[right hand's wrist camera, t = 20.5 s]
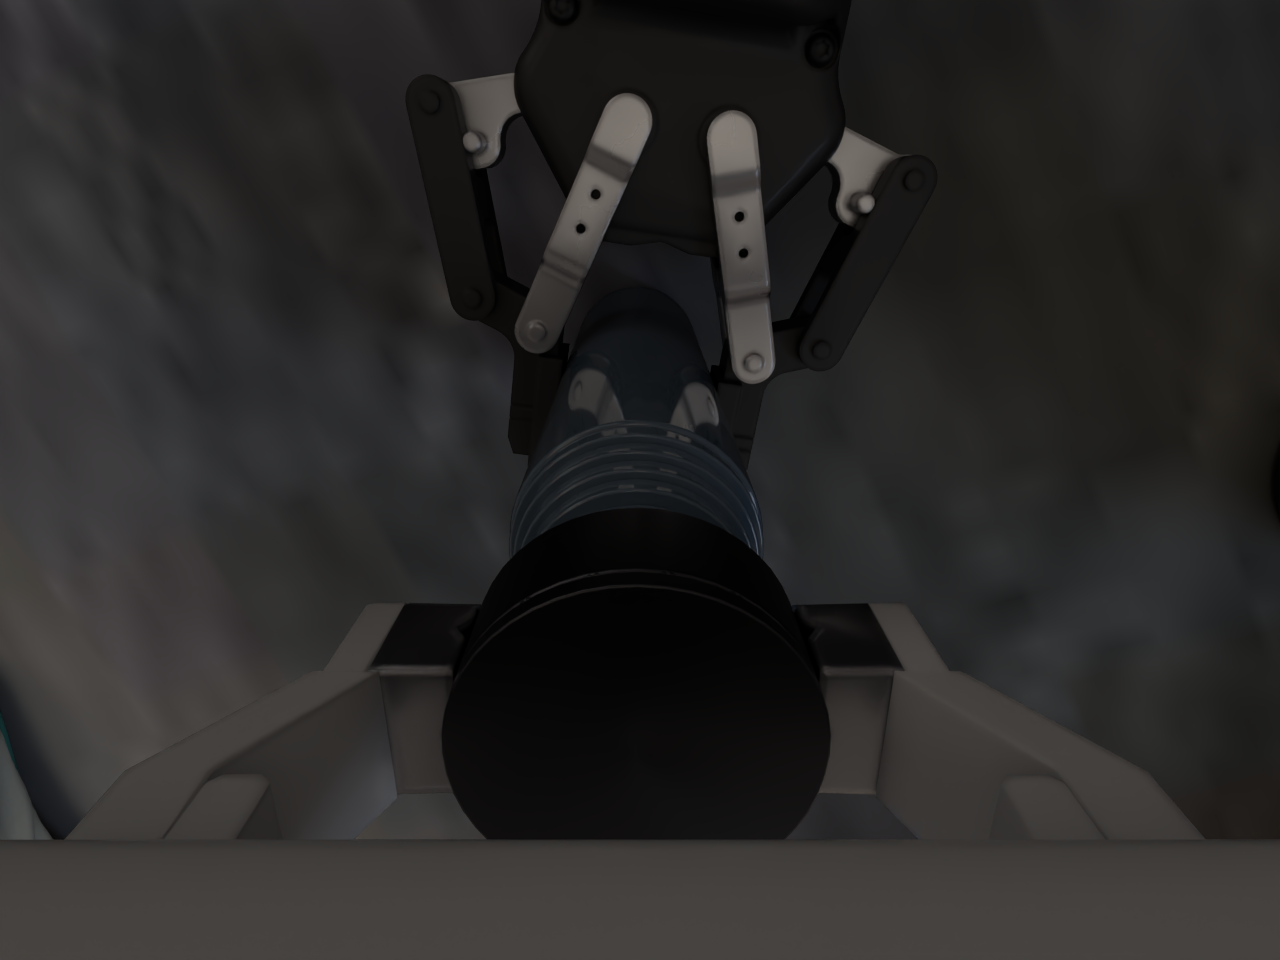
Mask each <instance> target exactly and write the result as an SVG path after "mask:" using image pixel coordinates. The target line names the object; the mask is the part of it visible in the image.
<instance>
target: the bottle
mask: <svg viewBox="0 0 1280 960" xmlns="http://www.w3.org/2000/svg"><path fill="white" fill-rule="evenodd" d="M621 508H651V509H662V510H668V511H673V512H678V513H683V514H686V515H689V516H692V517H695V518H698V519H702V520H704V521H707V522H709V523H711V524H713V525H715V526H718V527H720V528H722V529H724V530H725V531H727V532H729V533H730V534H732V535H733V536H735V537H737V538H738V539H740V540H741V541H743V542H744V543H745V544H746V545H747V546H749V547H750V548H751V549H752V550H753V551H755V552H756V553H757V554H758V555H759V556H760V557H761V558H762V560H763V524H762V518H761V511H760V508H759V504H758V501H757V498H756V495H755V492H754V490H753V487H752V484H751V482H750V479H749V476H748V474H747V471H746V468H745V466H744V463H743V460H742V458H741V455H740V452H739V450H738V447H737V444H736V442H735V439H734V436H733V434H732V431H731V428H730V426H729V423H728V420H727V418H726V415H725V412H724V410H723V407H722V405H721V402H720V399H719V397H718V394H717V391H716V389H715V386H714V383H713V381H712V378H711V375H710V373H709V370H708V367H707V365H706V362H705V359H704V357H703V354H702V351H701V349H700V346H699V343H698V341H697V338H696V335H695V333H694V330H693V327H692V325H691V323H690V320H689V318H688V316H687V315H686V313H685V312H684V310H683V309H682V308H681V307H680V306H679V305H678V304H677V303H676V302H675V301H674V300H673V299H671V298H670V297H668V296H667V295H665V294H663V293H661V292H659V291H656V290H653V289H649V288H644V287H629V288H624V289H620V290H617V291H614V292H612V293H610V294H608V295H606V296H605V297H603V298H602V299H600V300H599V301H598V302H597V303H596V304H595V305H594V306H593V307H592V308H591V309H590V310H589V312H588V314H587V315H586V317H585V319H584V321H583V323H582V325H581V328H580V330H579V333H578V336H577V338H576V341H575V344H574V346H573V349H572V351H571V354H570V357H569V359H568V362H567V365H566V367H565V370H564V373H563V375H562V378H561V381H560V383H559V386H558V388H557V391H556V394H555V396H554V399H553V402H552V404H551V407H550V410H549V412H548V415H547V418H546V420H545V423H544V425H543V428H542V431H541V433H540V436H539V439H538V441H537V444H536V447H535V449H534V452H533V454H532V457H531V460H530V462H529V465H528V468H527V470H526V473H525V476H524V478H523V481H522V484H521V486H520V489H519V491H518V494H517V497H516V500H515V503H514V507H513V510H512V516H511V522H510V537H509V555H510V559H511V558H512V557H513V556H514V555H515V554H516V553H517V552H518V551H519V550H520V549H522V548H523V547H524V546H525V545H527V544H528V543H529V542H530V541H532V540H533V539H534V538H536V537H538V536H539V535H541V534H543V533H544V532H546V531H547V530H549V529H551V528H553V527H555V526H557V525H560V524H562V523H564V522H566V521H569V520H571V519H574V518H577V517H581V516H584V515H587V514H590V513H594V512H598V511H599V512H600V511H602V510H611V509H621Z"/></svg>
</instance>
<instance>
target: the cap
mask: <svg viewBox="0 0 1280 960" xmlns="http://www.w3.org/2000/svg"><path fill="white" fill-rule="evenodd" d="M441 742H442V756H443V761H444V766H445V771H446V775H447V778H448V780H449V783H450V786H451V789H452V791H453V794H454V795H455V797H456V799H457V801H458V803H459V805H460V806H461V808H462V810H463V812H464V813H465V814H466V816H467V817H468V818H469V820H470V821H471V822H472V824H473V825H474V826H475V828H476V829H477V830H478V831H479V832H480V833H481V834H482V835H483V836H484V837H485V838H486V839H487V840H784V839H785V838H786V837H787V836H788V835H790V834H791V833H792V832H793V831H794V830H795V828H796V827H797V826H798V825H799V823H800V822H801V821H802V819H803V818H804V817H805V815H806V814H807V813H808V811H809V810H810V808H811V806H812V804H813V803H814V801H815V799H816V797H817V795H818V793H819V791H820V788H821V786H822V783H823V780H824V778H825V775H826V771H827V766H828V761H829V756H830V744H831V730H830V721H829V713H828V710H827V706H826V703H825V699H824V696H823V693H822V690H821V687H820V684H819V681H818V679H817V677H816V673H815V670H814V668H813V665H812V662H811V659H810V657H809V654H808V651H807V648H806V645H805V643H804V640H803V637H802V634H801V632H800V629H799V626H798V623H797V621H796V618H795V615H794V612H793V609H792V607H791V604H790V601H789V599H788V597H787V595H786V593H785V591H784V589H783V587H782V585H781V583H780V582H779V580H778V579H777V577H776V576H775V574H774V573H773V571H772V570H771V568H770V567H769V566H768V565H767V564H766V563H765V562H764V561H763V560H762V558H761V557H760V556H759V555H758V554H757V553H756V552H755V551H753V550H752V549H751V548H750V547H749V546H747V545H746V544H745V543H744V542H743V541H741V540H740V539H738V538H737V537H735V536H733V535H732V534H730V533H729V532H727V531H725V530H724V529H722V528H720V527H718V526H715V525H713V524H711V523H709V522H707V521H704V520H702V519H698V518H695V517H692V516H689V515H686V514H683V513H678V512H673V511H668V510H662V509H651V508H621V509H611V510H602V511H600V512H599V511H598V512H594V513H590V514H587V515H584V516H581V517H577V518H574V519H571V520H569V521H566V522H564V523H562V524H560V525H557V526H555V527H553V528H551V529H549V530H547V531H546V532H544V533H543V534H541V535H539V536H538V537H536V538H534V539H533V540H532V541H530V542H529V543H528V544H527V545H525V546H524V547H523V548H522V549H520V550H519V551H518V552H517V553H516V554H515V555H514V556H513V557H512V558H511V559H510V560H509V561H508V562H507V563H506V565H505V566H504V567H503V568H502V569H501V571H500V572H499V574H498V575H497V577H496V578H495V579H494V581H493V582H492V584H491V586H490V588H489V590H488V592H487V594H486V596H485V598H484V600H483V603H482V606H481V608H480V611H479V614H478V617H477V619H476V622H475V625H474V628H473V630H472V633H471V636H470V639H469V641H468V644H467V647H466V649H465V652H464V655H463V658H462V660H461V663H460V666H459V669H458V671H457V675H456V677H455V680H454V682H453V685H452V688H451V691H450V694H449V697H448V700H447V703H446V707H445V710H444V715H443V722H442V730H441Z"/></svg>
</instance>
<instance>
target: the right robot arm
mask: <svg viewBox="0 0 1280 960" xmlns="http://www.w3.org/2000/svg"><path fill="white" fill-rule="evenodd" d="M481 606H482V605H481V604H436V603H409V604H407V603H406V602H398V603H372V604H368V605H366V606H365V608H364V609H363V611H362V612H361V614H360V615H359V617H358V618H357V620H356V621H355V623H354V624H353V626H352V627H351V629H350V630H349V632H348V634H347V635H346V637H345V638H344V640H343V641H342V643H341V644H340V646H339V647H338V649H337V650H336V652H335V653H334V655H333V656H332V658H331V659H330V661H329V662H328V664H327V666H326V667H325V669H324V670H323V671H311V672H309V673H307V674H305V675H303V676H302V677H300V678H298V679H296V680H294V681H292V682H290V683H288V684H287V685H285V686H283V687H281V688H279V689H277V690H275V691H273V692H272V693H270V694H268V695H266V696H264V697H262V698H260V699H258V700H257V701H255V702H253V703H251V704H249V705H247V706H245V707H243V708H242V709H240V710H238V711H236V712H234V713H232V714H230V715H228V716H227V717H225V718H223V719H221V720H219V721H217V722H215V723H213V724H212V725H210V726H208V727H206V728H204V729H202V730H200V731H199V732H197V733H195V734H193V735H191V736H189V737H187V738H185V739H184V740H182V741H180V742H178V743H176V744H174V745H172V746H170V747H169V748H167V749H165V750H163V751H161V752H159V753H157V754H155V755H154V756H152V757H150V758H148V759H146V760H144V761H142V762H140V763H139V764H137V765H135V766H133V767H131V768H129V769H127V770H125V771H124V772H123V773H122V774H121V776H120V777H119V778H118V779H117V780H116V781H115V782H114V784H113V785H112V786H111V787H110V788H109V789H108V790H107V792H106V793H105V794H104V795H103V796H102V797H101V798H100V799H99V801H98V802H97V803H96V804H95V805H94V806H93V807H92V809H91V810H90V811H89V812H88V813H87V814H86V815H85V816H84V818H83V819H82V820H81V821H80V822H79V823H78V824H77V826H76V827H75V828H74V829H73V830H72V831H71V832H70V833H69V835H68V836H67V837H66V838H65V839H64V840H0V960H1280V839H1212V840H1211V839H1210V840H1206V839H1205V838H1204V837H1203V836H1202V835H1201V833H1200V832H1199V831H1198V830H1197V829H1196V828H1195V827H1194V825H1193V824H1192V823H1191V822H1190V821H1189V820H1188V818H1187V817H1186V816H1185V815H1184V814H1183V813H1182V811H1181V810H1180V809H1179V808H1178V807H1177V806H1176V804H1175V803H1174V802H1173V801H1172V800H1171V799H1170V797H1169V796H1168V795H1167V794H1166V793H1165V792H1164V790H1163V789H1162V788H1161V787H1160V786H1159V785H1158V783H1157V782H1156V781H1155V780H1154V779H1153V778H1152V776H1151V775H1150V774H1149V773H1148V772H1147V771H1145V770H1143V769H1141V768H1139V767H1137V766H1136V765H1134V764H1132V763H1130V762H1128V761H1126V760H1124V759H1123V758H1121V757H1119V756H1117V755H1115V754H1113V753H1112V752H1110V751H1108V750H1106V749H1104V748H1102V747H1100V746H1099V745H1097V744H1095V743H1093V742H1091V741H1089V740H1087V739H1086V738H1084V737H1082V736H1080V735H1078V734H1076V733H1075V732H1073V731H1071V730H1069V729H1067V728H1065V727H1063V726H1062V725H1060V724H1058V723H1056V722H1054V721H1052V720H1050V719H1049V718H1047V717H1045V716H1043V715H1041V714H1039V713H1038V712H1036V711H1034V710H1032V709H1030V708H1028V707H1026V706H1025V705H1023V704H1021V703H1019V702H1017V701H1015V700H1013V699H1012V698H1010V697H1008V696H1006V695H1004V694H1002V693H1001V692H999V691H997V690H995V689H993V688H991V687H989V686H988V685H986V684H984V683H982V682H980V681H978V680H976V679H975V678H973V677H971V676H969V675H967V674H965V673H964V672H962V671H949V669H948V668H947V666H946V664H945V663H944V661H943V660H942V658H941V657H940V655H939V654H938V652H937V651H936V649H935V648H934V646H933V644H932V643H931V641H930V640H929V638H928V637H927V635H926V634H925V632H924V631H923V629H922V628H921V626H920V624H919V623H918V621H917V620H916V618H915V617H914V615H913V614H912V612H911V611H910V609H909V608H908V606H907V605H906V604H904V603H902V602H892V603H861V604H820V605H793V606H791V607H792V609H793V612H794V615H795V618H796V621H797V623H798V626H799V629H800V632H801V634H802V637H803V640H804V643H805V645H806V648H807V651H808V654H809V657H810V659H811V662H812V665H813V668H814V670H815V673H816V677H817V679H818V681H819V684H820V687H821V690H822V693H823V696H824V699H825V703H826V706H827V710H828V713H829V721H830V730H831V744H830V756H829V761H828V766H827V771H826V775H825V778H824V780H823V783H822V786H821V788H820V791H819V793H851V794H876V796H875V797H876V798H877V799H878V800H879V801H880V802H881V803H882V804H883V805H884V806H885V807H886V808H887V809H888V810H889V811H890V812H891V813H892V814H893V815H894V816H895V817H896V818H898V819H899V820H900V821H901V822H902V823H903V824H904V825H905V826H906V827H907V828H908V829H909V830H910V831H911V832H912V833H913V834H914V835H915V836H916V837H917V838H918V839H919V840H354V839H355V838H356V837H357V836H358V835H359V834H360V833H361V832H362V831H363V830H364V829H365V828H366V827H367V826H368V825H370V824H371V823H372V822H373V821H374V820H375V819H376V818H377V817H378V816H379V815H380V814H381V813H382V812H383V811H384V810H385V809H386V808H387V807H388V806H390V805H391V804H392V803H393V802H394V801H395V800H396V799H397V798H398V797H397V794H421V793H453V791H452V789H451V786H450V783H449V780H448V778H447V775H446V771H445V766H444V761H443V756H442V742H441V730H442V722H443V715H444V710H445V707H446V703H447V700H448V697H449V694H450V691H451V688H452V685H453V682H454V680H455V677H456V675H457V671H458V669H459V666H460V663H461V660H462V658H463V655H464V652H465V649H466V647H467V644H468V641H469V639H470V636H471V633H472V630H473V628H474V625H475V622H476V619H477V617H478V614H479V611H480V608H481Z"/></svg>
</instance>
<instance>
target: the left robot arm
mask: <svg viewBox="0 0 1280 960" xmlns="http://www.w3.org/2000/svg"><path fill="white" fill-rule="evenodd" d="M851 1H852V0H541V9H540V14H539V19H538V22H537V25H536V28H535V31H534V33H533V35H532V38H531V40H530V41H529V43H528V45H527V46H526V48H525V50H524V51H523V53H522V54H521V56H520V58H519V60H518V62H517V65H516V68H515V73H510V74H503V75H497V76H490V77H484V78H477V79H471V80H464V81H458V82H447V81H445V80H443V79H441V78H439V77H437V76H435V75H427V74H426V75H421V76H419V77H417V78H415V79H414V80H413V81H412V82H411V83H410V85H409V87H408V89H407V92H406V107H407V111H408V115H409V120H410V124H411V129H412V133H413V137H414V142H415V146H416V151H417V155H418V160H419V164H420V168H421V173H422V177H423V182H424V186H425V190H426V195H427V199H428V204H429V208H430V213H431V217H432V221H433V226H434V230H435V235H436V239H437V243H438V248H439V252H440V257H441V261H442V266H443V270H444V274H445V279H446V283H447V288H448V292H449V296H450V301H451V304H452V306H453V308H454V310H455V311H456V312H457V313H458V314H459V315H460V316H461V317H463V318H465V319H468V320H473V321H475V320H479V321H480V322H482V323H484V324H486V325H488V326H490V327H492V328H494V329H496V330H498V331H499V332H501V333H502V334H504V335H505V336H506V337H507V338H508V340H509V341H510V343H511V345H512V347H513V350H514V371H513V383H512V395H511V406H510V419H509V430H508V438H509V441H510V444H511V448H512V451H513V453H515V454H523V455H529V458H528V465H529V462H530V460H531V457H532V454H533V452H534V449H535V447H536V444H537V441H538V439H539V436H540V433H541V431H542V428H543V425H544V423H545V420H546V418H547V415H548V412H549V410H550V407H551V404H552V402H553V399H554V396H555V394H556V391H557V388H558V386H559V383H560V381H561V378H562V375H563V373H564V370H565V367H566V365H567V360H568V352H569V344H567V343H563V334H564V326H565V324H566V321H567V319H568V317H569V315H570V312H571V310H572V308H573V306H574V304H575V301H576V299H577V297H578V295H579V292H580V290H581V288H582V286H583V283H584V281H585V279H586V277H587V275H588V272H589V270H590V268H591V266H592V264H593V262H594V259H595V257H596V255H597V253H598V250H599V248H600V246H601V244H602V242H603V241H606V242H612V243H619V244H625V245H637V244H645V243H653V242H664V243H666V244H668V245H670V246H673V247H675V248H677V249H679V250H681V251H684V252H686V253H688V254H692V255H698V256H705V257H710V261H711V268H712V276H713V282H714V287H715V292H716V297H717V305H718V313H719V321H720V328H721V336H722V344H723V349H722V354H721V359H720V365H719V366H717V365H712V366H711V372H710V375H711V378H712V381H713V383H714V386H715V389H716V391H717V394H718V397H719V399H720V402H721V405H722V407H723V410H724V412H725V415H726V418H727V420H728V423H729V426H730V428H731V431H732V434H733V436H734V439H735V442H736V444H737V447H738V450H739V452H740V455H741V458H742V460H743V463H744V466H745V468H746V470H747V468H748V463H749V458H750V454H751V449H752V444H753V438H754V435H755V430H756V425H757V420H758V416H759V411H760V406H761V401H762V397H763V393H764V390H765V388H766V386H767V385H768V383H769V382H770V381H771V380H772V379H773V378H775V377H776V376H778V375H780V374H782V373H786V372H791V371H796V370H801V369H805V368H809V369H811V370H814V371H825V370H828V369H830V368H832V367H833V366H835V365H836V364H837V363H838V362H839V360H840V358H841V357H842V355H843V353H844V351H845V349H846V348H847V346H848V344H849V342H850V340H851V339H852V337H853V335H854V333H855V331H856V330H857V328H858V326H859V324H860V322H861V321H862V319H863V317H864V315H865V313H866V312H867V310H868V308H869V306H870V304H871V303H872V301H873V299H874V297H875V295H876V294H877V292H878V290H879V288H880V286H881V285H882V283H883V281H884V279H885V277H886V276H887V274H888V272H889V270H890V268H891V267H892V265H893V263H894V261H895V259H896V258H897V256H898V254H899V252H900V250H901V249H902V247H903V245H904V243H905V241H906V240H907V238H908V236H909V234H910V232H911V231H912V229H913V227H914V225H915V223H916V222H917V220H918V218H919V216H920V214H921V213H922V211H923V209H924V207H925V205H926V204H927V202H928V200H929V198H930V196H931V195H932V193H933V191H934V189H935V187H936V183H937V171H936V168H935V166H934V164H933V162H932V161H931V160H930V159H928V158H927V157H925V156H922V155H908V154H907V155H899V154H896V153H895V152H893V151H891V150H889V149H887V148H885V147H883V146H881V145H879V144H877V143H875V142H873V141H872V140H870V139H868V138H866V137H864V136H862V135H860V134H858V133H856V132H854V131H852V130H850V129H849V128H847V127H845V110H844V105H843V102H842V99H841V95H840V90H839V81H838V65H839V58H840V53H841V48H842V43H843V39H844V34H845V29H846V25H847V20H848V15H849V10H850V6H851ZM521 116H523V117H524V119H525V121H526V123H527V125H528V127H529V129H530V130H531V132H532V134H533V136H534V138H535V140H536V142H537V144H538V146H539V148H540V149H541V151H542V153H543V155H544V157H545V159H546V161H547V163H548V165H549V167H550V169H551V170H552V172H553V174H554V176H555V178H556V180H557V182H558V184H559V186H560V188H561V189H562V191H563V193H564V195H565V197H566V199H567V200H566V202H565V205H564V207H563V209H562V212H561V214H560V217H559V219H558V221H557V224H556V226H555V228H554V231H553V233H552V235H551V238H550V240H549V242H548V245H547V247H546V250H545V252H544V255H543V257H542V261H541V264H540V267H539V269H538V272H537V274H536V277H535V279H534V281H533V284H532V286H531V288H530V289H529V288H527V287H526V286H524V285H522V284H520V283H518V282H516V281H514V280H512V279H511V278H509V277H507V272H506V267H505V262H504V257H503V252H502V247H501V242H500V237H499V232H498V226H497V221H496V216H495V211H494V206H493V201H492V196H491V191H490V186H489V181H488V175H487V170H486V169H488V168H492V167H494V166H496V165H498V164H499V163H500V162H501V160H502V159H503V157H504V155H505V152H506V133H507V130H508V128H509V126H510V124H511V123H512V122H513V121H514V120H515V119H517V118H518V117H521ZM824 165H825V166H826V167H827V168H828V170H829V171H830V173H831V176H832V190H831V193H830V196H829V200H828V208H829V212H830V214H831V216H832V217H833V219H834V220H835V221H837V222H838V223H839V224H838V226H837V228H836V230H835V232H834V234H833V236H832V238H831V240H830V242H829V244H828V246H827V248H826V249H825V251H824V253H823V255H822V257H821V259H820V261H819V263H818V265H817V267H816V269H815V271H814V273H813V275H812V276H811V278H810V280H809V282H808V284H807V286H806V288H805V290H804V292H803V294H802V296H801V298H800V300H799V301H798V303H797V305H796V307H795V309H794V311H793V313H792V315H791V317H790V319H786V320H781V321H776V322H771V312H770V301H769V298H770V291H771V287H770V275H769V265H768V255H767V245H766V235H765V225H766V224H767V223H768V222H769V221H770V220H771V219H772V218H773V217H774V216H775V215H776V214H777V213H778V212H779V211H780V210H781V209H782V208H783V207H784V206H785V205H786V204H787V203H788V202H789V201H790V200H791V199H792V198H793V197H794V196H795V195H796V194H797V193H798V191H799V190H800V189H801V188H802V187H803V186H804V185H805V184H806V183H807V182H808V181H809V180H810V179H811V178H812V177H813V176H814V175H815V174H816V173H817V172H818V171H819V170H820V169H821V168H822V167H823V166H824ZM1275 498H1276V504H1277V508H1278V512H1279V514H1280V458H1279V461H1278V466H1277V470H1276V477H1275Z"/></svg>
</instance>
